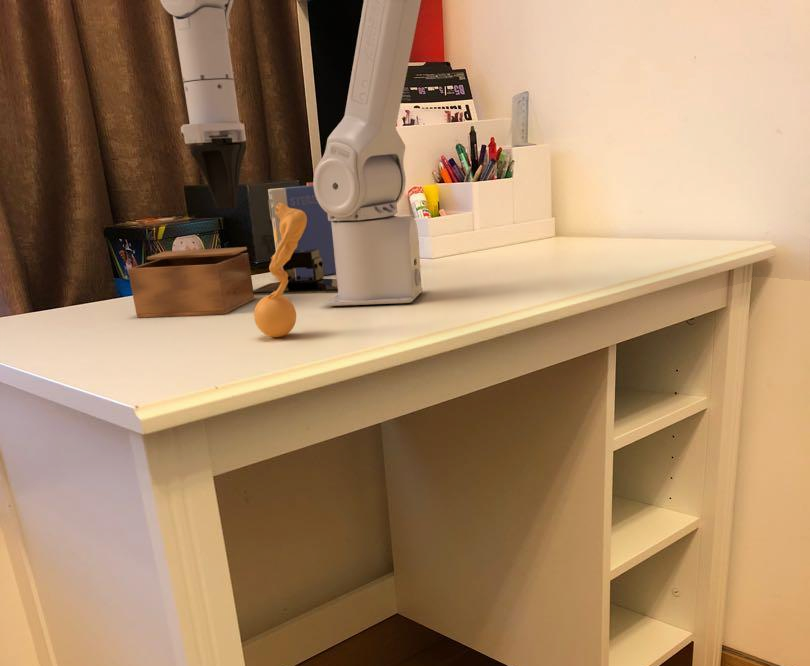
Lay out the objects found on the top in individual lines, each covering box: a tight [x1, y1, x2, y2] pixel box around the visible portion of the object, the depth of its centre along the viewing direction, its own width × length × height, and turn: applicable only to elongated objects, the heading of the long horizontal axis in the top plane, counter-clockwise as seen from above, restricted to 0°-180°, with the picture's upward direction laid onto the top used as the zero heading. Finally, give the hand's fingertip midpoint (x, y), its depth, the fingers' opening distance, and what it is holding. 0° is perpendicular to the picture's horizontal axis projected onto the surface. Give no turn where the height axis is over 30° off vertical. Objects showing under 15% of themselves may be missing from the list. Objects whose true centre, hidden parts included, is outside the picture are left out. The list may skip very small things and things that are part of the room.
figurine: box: [253, 203, 307, 338], centre depth 82 cm, size 8×6×12 cm
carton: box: [127, 252, 255, 319], centre depth 103 cm, size 11×10×5 cm
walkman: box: [267, 182, 336, 277], centre depth 120 cm, size 8×3×12 cm, turn 112°
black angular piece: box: [253, 249, 338, 295], centre depth 111 cm, size 12×7×5 cm, turn 76°
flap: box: [146, 246, 248, 261], centre depth 104 cm, size 11×5×1 cm, turn 79°
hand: (227, 208), depth 106 cm, fingers closed
